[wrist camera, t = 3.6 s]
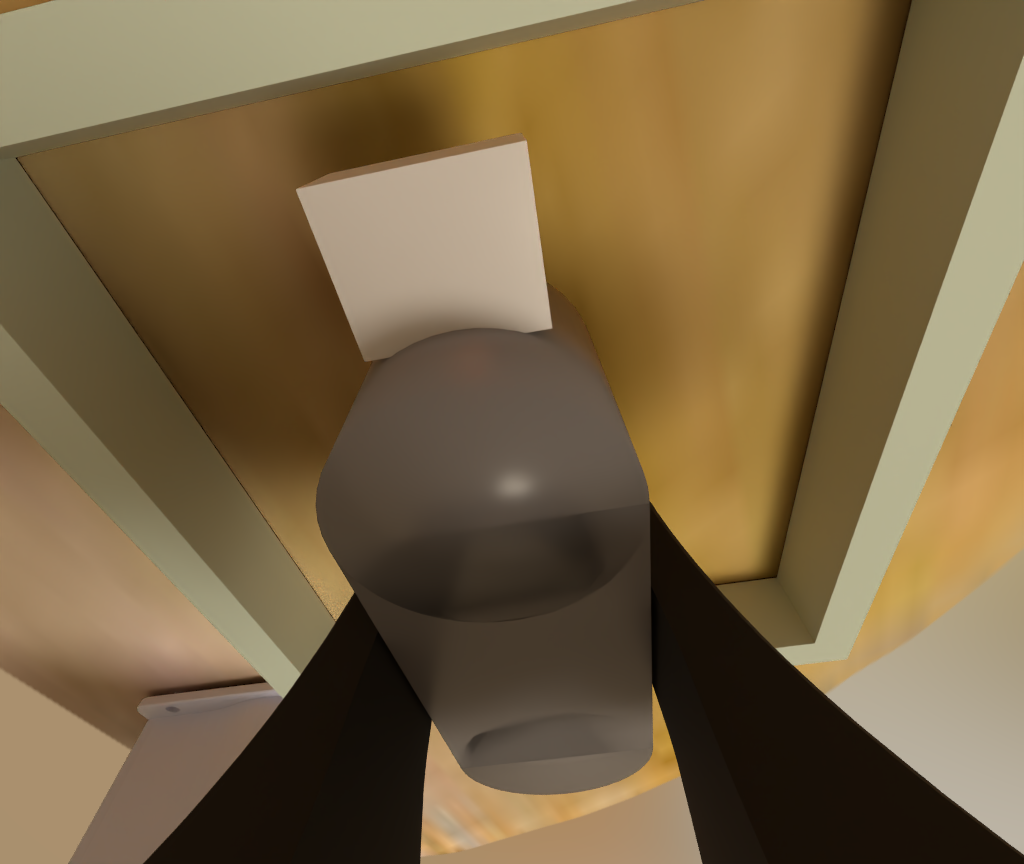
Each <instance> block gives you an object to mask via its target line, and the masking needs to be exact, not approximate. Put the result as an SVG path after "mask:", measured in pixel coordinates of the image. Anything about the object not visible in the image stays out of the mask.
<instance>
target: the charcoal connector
mask: <svg viewBox="0 0 1024 864" xmlns="http://www.w3.org/2000/svg"><path fill="white" fill-rule="evenodd" d="M296 192H297V194H298V197H299V199H300V202H301V204H302V207H303V209H304V212H305V214H306V217H307V219H308V222H309V224H310V227H311V229H312V231H313V234H314V236H315V239H316V241H317V244H318V246H319V249H320V251H321V254H322V256H323V259H324V261H325V264H326V266H327V269H328V271H329V274H330V276H331V279H332V281H333V284H334V286H335V289H336V291H337V294H338V296H339V299H340V301H341V304H342V306H343V309H344V311H345V314H346V316H347V319H348V321H349V324H350V326H351V329H352V331H353V334H354V336H355V339H356V341H357V344H358V346H359V349H360V351H361V354H362V356H363V359H364V361H365V362H367V361H373V362H372V364H371V366H370V368H369V370H368V373H367V375H366V377H365V379H364V381H363V383H362V386H361V388H360V390H359V392H358V394H357V396H356V399H355V401H354V403H353V405H352V407H351V410H350V412H349V414H348V416H347V418H346V420H345V423H344V425H343V427H342V429H341V431H340V433H339V436H338V438H337V440H336V442H335V444H334V446H333V449H332V451H331V453H330V455H329V457H328V459H327V462H326V464H325V466H324V468H323V470H322V472H321V476H320V480H319V483H318V487H317V495H316V511H317V520H318V524H319V527H320V530H321V534H322V537H323V539H324V541H325V543H326V545H327V547H328V549H329V551H330V552H331V554H332V555H333V557H334V559H335V560H336V562H337V564H338V565H339V567H340V569H341V570H342V572H343V574H344V575H345V577H346V579H347V580H348V582H349V584H350V585H351V587H352V589H353V590H354V592H355V593H356V595H357V597H358V598H359V600H360V602H361V603H362V605H363V607H364V608H365V610H366V612H367V613H368V615H369V617H370V618H371V620H372V622H373V623H374V625H375V627H376V628H377V630H378V631H379V633H380V635H381V636H382V638H383V640H384V641H385V643H386V645H387V646H388V648H389V650H390V651H391V653H392V655H393V656H394V658H395V660H396V661H397V663H398V665H399V666H400V668H401V669H402V671H403V673H404V674H405V676H406V678H407V679H408V681H409V683H410V684H411V686H412V688H413V689H414V691H415V693H416V694H417V696H418V698H419V699H420V701H421V703H422V704H423V706H424V707H425V709H426V711H427V712H428V714H429V716H430V717H431V719H432V721H433V722H434V724H435V726H436V727H437V729H438V731H439V732H440V734H441V736H442V737H443V739H444V741H445V742H446V744H447V745H448V747H449V749H450V750H451V752H452V754H453V755H454V757H455V759H456V760H457V762H458V764H459V765H460V767H461V769H462V770H463V771H464V772H465V774H467V775H468V776H469V777H470V778H472V779H473V780H475V781H476V782H479V783H481V784H483V785H485V786H488V787H491V788H494V789H498V790H502V791H507V792H513V793H521V794H535V795H550V794H566V793H574V792H581V791H587V790H591V789H596V788H600V787H603V786H607V785H610V784H612V783H615V782H618V781H620V780H622V779H625V778H627V777H629V776H630V775H632V774H634V773H635V772H637V771H638V770H640V769H641V768H642V767H643V766H644V765H645V764H646V763H647V762H648V761H649V759H650V757H651V755H652V751H653V718H652V641H651V565H650V501H649V492H648V486H647V482H646V479H645V476H644V473H643V470H642V467H641V465H640V462H639V460H638V457H637V454H636V452H635V449H634V447H633V444H632V442H631V439H630V437H629V434H628V432H627V429H626V427H625V424H624V421H623V419H622V416H621V414H620V411H619V409H618V406H617V404H616V401H615V399H614V396H613V393H612V391H611V388H610V386H609V383H608V381H607V378H606V376H605V373H604V371H603V368H602V366H601V363H600V360H599V358H598V355H597V353H596V350H595V348H594V345H593V343H592V340H591V338H590V335H589V332H588V330H587V328H586V326H585V324H584V322H583V320H582V318H581V316H580V315H579V313H578V312H577V310H576V309H575V307H574V306H573V305H572V304H571V303H570V301H569V300H568V299H567V298H566V297H565V296H564V295H563V294H562V293H560V292H559V291H558V290H557V289H555V288H554V287H553V286H551V285H550V284H548V283H547V282H546V278H545V271H544V264H543V256H542V249H541V242H540V235H539V227H538V220H537V213H536V205H535V198H534V191H533V184H532V176H531V169H530V162H529V154H528V147H527V140H526V139H525V137H524V136H523V135H522V133H517V134H512V135H508V136H503V137H498V138H494V139H489V140H484V141H480V142H475V143H470V144H465V145H461V146H456V147H451V148H447V149H442V150H437V151H433V152H428V153H423V154H418V155H414V156H409V157H404V158H400V159H395V160H390V161H386V162H381V163H376V164H372V165H367V166H362V167H357V168H353V169H348V170H343V171H339V172H334V173H329V174H327V175H325V176H323V177H321V178H318V179H316V180H314V181H312V182H310V183H308V184H306V185H304V186H301V187H299V188H297V189H296Z"/></svg>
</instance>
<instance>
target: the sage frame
mask: <svg viewBox="0 0 1024 864" xmlns="http://www.w3.org/2000/svg"><path fill="white" fill-rule="evenodd" d="M698 1H703V0H54V1H50V2H46V3H42V4H38V5H34V6H30V7H26V8H23V9H19V10H15V11H11V12H7V13H3V14H0V403H1V405H2V406H3V407H4V408H5V409H6V410H7V411H8V412H9V413H10V414H11V415H12V416H13V417H14V418H15V419H16V420H17V421H18V422H19V423H20V424H21V425H22V426H23V427H24V429H25V430H26V431H27V432H28V433H29V434H30V435H31V436H32V437H33V438H34V439H35V440H36V441H37V442H38V443H39V444H40V445H41V446H42V447H43V448H44V449H45V450H46V452H47V453H48V454H49V455H50V456H51V457H52V458H53V459H54V460H55V461H56V462H57V463H58V464H59V465H60V466H61V467H62V468H63V469H64V470H65V471H66V472H67V473H68V474H69V476H70V477H71V478H72V479H73V480H74V481H75V482H76V483H77V484H78V485H79V486H80V487H81V488H82V489H83V490H84V491H85V492H86V493H87V494H88V495H89V496H90V497H91V499H92V500H93V501H94V502H95V503H96V504H97V505H98V506H99V507H100V508H101V509H102V510H103V511H104V512H105V513H106V514H107V515H108V516H109V517H110V518H111V519H112V520H113V521H114V523H115V524H116V525H117V526H118V527H119V528H120V529H121V530H122V531H123V532H124V533H125V534H126V535H127V536H128V537H129V538H130V539H131V540H132V541H133V542H134V543H135V544H136V545H137V547H138V548H139V549H140V550H141V551H142V552H143V553H144V554H145V555H146V556H147V557H148V558H149V559H150V560H151V561H152V562H153V563H154V564H155V565H156V566H157V567H158V568H159V570H160V571H161V572H162V573H163V574H164V575H165V576H166V577H167V578H168V579H169V580H170V581H171V582H172V583H173V584H174V585H175V586H176V587H177V588H178V589H179V590H180V591H181V592H182V594H183V595H184V596H185V597H186V598H187V599H188V600H189V601H190V602H191V603H192V604H193V605H194V606H195V607H196V608H197V609H198V610H199V611H200V612H201V613H202V614H203V615H204V616H205V618H206V619H207V620H208V621H209V622H210V623H211V624H212V625H213V626H214V627H215V628H216V629H217V630H218V631H219V632H220V633H221V634H222V635H223V636H224V637H225V638H226V639H227V641H228V642H229V643H230V644H231V645H232V646H233V647H234V648H235V649H236V650H237V651H238V652H239V653H240V654H241V655H242V656H243V657H244V658H245V659H246V660H247V661H248V662H249V663H250V665H251V666H252V667H253V668H254V669H255V670H256V671H257V672H258V673H259V674H260V675H261V676H262V677H263V678H264V679H265V680H266V681H267V682H268V683H269V684H270V685H271V686H272V688H273V689H274V690H275V691H276V692H277V693H278V694H279V695H280V696H281V697H282V698H284V697H285V696H286V694H287V693H288V692H289V690H290V689H291V687H292V686H293V685H294V683H295V682H296V680H297V679H298V677H299V676H300V675H301V673H302V672H303V670H304V669H305V667H306V666H307V665H308V663H309V662H310V660H311V659H312V657H313V656H314V654H315V653H316V652H317V650H318V649H319V647H320V646H321V644H322V643H323V641H324V640H325V638H326V637H327V635H328V634H329V632H330V631H331V629H332V627H333V626H334V624H335V623H336V622H335V621H334V619H333V618H332V617H331V615H330V614H329V612H328V611H327V609H326V608H325V606H324V605H323V603H322V602H321V601H320V599H319V598H318V596H317V595H316V593H315V592H314V590H313V589H312V588H311V586H310V585H309V583H308V582H307V580H306V579H305V577H304V576H303V574H302V573H301V572H300V570H299V569H298V567H297V566H296V564H295V563H294V561H293V560H292V558H291V557H290V556H289V554H288V553H287V551H286V550H285V548H284V547H283V545H282V544H281V543H280V541H279V540H278V538H277V537H276V535H275V534H274V532H273V531H272V529H271V528H270V527H269V525H268V524H267V522H266V521H265V519H264V518H263V516H262V515H261V513H260V512H259V511H258V509H257V508H256V506H255V505H254V503H253V502H252V500H251V499H250V498H249V496H248V495H247V493H246V492H245V490H244V489H243V487H242V486H241V484H240V483H239V482H238V480H237V479H236V477H235V476H234V474H233V473H232V471H231V470H230V468H229V467H228V466H227V464H226V463H225V461H224V460H223V458H222V457H221V455H220V454H219V453H218V451H217V450H216V448H215V447H214V445H213V444H212V442H211V441H210V439H209V438H208V437H207V435H206V434H205V432H204V431H203V429H202V428H201V426H200V425H199V423H198V422H197V421H196V419H195V418H194V416H193V415H192V413H191V412H190V410H189V409H188V408H187V406H186V405H185V403H184V402H183V400H182V399H181V397H180V396H179V394H178V393H177V392H176V390H175V389H174V387H173V386H172V384H171V383H170V381H169V380H168V378H167V377H166V376H165V374H164V373H163V371H162V370H161V368H160V367H159V365H158V364H157V363H156V361H155V360H154V358H153V357H152V355H151V354H150V352H149V351H148V349H147V348H146V347H145V345H144V344H143V342H142V341H141V339H140V338H139V336H138V335H137V333H136V332H135V331H134V329H133V328H132V326H131V325H130V323H129V322H128V320H127V319H126V318H125V316H124V315H123V313H122V312H121V310H120V309H119V307H118V306H117V304H116V303H115V302H114V300H113V299H112V297H111V296H110V294H109V293H108V291H107V290H106V288H105V287H104V286H103V284H102V283H101V281H100V280H99V278H98V277H97V275H96V274H95V273H94V271H93V270H92V268H91V267H90V265H89V264H88V262H87V261H86V259H85V258H84V257H83V255H82V254H81V252H80V251H79V249H78V248H77V246H76V245H75V243H74V242H73V241H72V239H71V238H70V236H69V235H68V233H67V232H66V230H65V229H64V228H63V226H62V225H61V223H60V222H59V220H58V219H57V217H56V216H55V214H54V213H53V212H52V210H51V209H50V207H49V206H48V204H47V203H46V201H45V200H44V198H43V197H42V196H41V194H40V193H39V191H38V190H37V188H36V187H35V185H34V184H33V183H32V181H31V180H30V178H29V177H28V175H27V174H26V172H25V171H24V169H23V168H22V167H21V165H20V164H19V162H18V161H17V159H16V157H20V156H24V155H29V154H33V153H37V152H42V151H46V150H51V149H55V148H59V147H64V146H68V145H72V144H77V143H81V142H86V141H90V140H94V139H99V138H103V137H107V136H112V135H116V134H121V133H125V132H129V131H134V130H138V129H142V128H147V127H151V126H156V125H160V124H164V123H169V122H173V121H178V120H182V119H186V118H191V117H195V116H199V115H204V114H208V113H213V112H217V111H221V110H226V109H230V108H234V107H239V106H243V105H248V104H252V103H256V102H261V101H265V100H269V99H274V98H278V97H283V96H287V95H291V94H296V93H300V92H304V91H309V90H313V89H318V88H322V87H326V86H331V85H335V84H339V83H344V82H348V81H353V80H357V79H361V78H366V77H370V76H375V75H379V74H383V73H388V72H392V71H396V70H401V69H405V68H410V67H414V66H418V65H423V64H427V63H431V62H436V61H440V60H445V59H449V58H453V57H458V56H462V55H466V54H471V53H475V52H480V51H484V50H488V49H493V48H497V47H501V46H506V45H510V44H515V43H519V42H523V41H528V40H532V39H536V38H541V37H545V36H550V35H554V34H558V33H563V32H567V31H572V30H576V29H580V28H585V27H589V26H593V25H598V24H602V23H607V22H611V21H615V20H620V19H624V18H628V17H633V16H637V15H642V14H646V13H650V12H655V11H659V10H663V9H668V8H672V7H677V6H681V5H685V4H690V3H694V2H698ZM1023 261H1024V0H912V3H911V7H910V12H909V16H908V20H907V24H906V29H905V33H904V37H903V42H902V46H901V50H900V54H899V59H898V63H897V67H896V71H895V76H894V80H893V84H892V88H891V93H890V97H889V101H888V105H887V110H886V114H885V118H884V123H883V127H882V131H881V135H880V140H879V144H878V148H877V152H876V157H875V161H874V165H873V169H872V174H871V178H870V182H869V186H868V191H867V195H866V199H865V204H864V208H863V212H862V216H861V221H860V225H859V229H858V233H857V238H856V242H855V246H854V250H853V255H852V259H851V263H850V267H849V272H848V276H847V280H846V285H845V289H844V293H843V297H842V302H841V306H840V310H839V314H838V319H837V323H836V327H835V331H834V336H833V340H832V344H831V348H830V353H829V357H828V361H827V366H826V370H825V374H824V378H823V383H822V387H821V391H820V395H819V400H818V404H817V408H816V412H815V417H814V421H813V425H812V429H811V434H810V438H809V442H808V447H807V451H806V455H805V459H804V464H803V468H802V472H801V476H800V481H799V485H798V489H797V493H796V498H795V502H794V506H793V510H792V515H791V519H790V523H789V527H788V532H787V536H786V540H785V545H784V549H783V553H782V557H781V562H780V566H779V570H778V574H777V578H770V579H762V580H754V581H747V582H739V583H731V584H724V585H716V586H717V588H718V589H719V590H720V591H721V592H722V593H723V594H724V596H725V597H726V598H727V599H728V600H729V601H730V602H731V603H732V604H733V605H734V606H735V608H736V609H737V610H738V611H739V612H740V613H741V614H742V615H743V616H744V617H745V618H746V619H747V620H748V621H749V622H750V623H751V624H752V625H753V626H754V627H755V628H756V629H757V630H758V631H759V633H760V634H761V635H762V636H763V637H764V638H765V639H766V640H767V641H768V642H769V643H770V644H771V645H772V646H773V647H774V648H775V649H777V650H778V651H779V652H780V653H781V654H782V655H783V656H784V657H785V658H786V659H787V660H788V661H789V662H790V663H791V664H792V665H793V666H794V665H802V664H811V663H820V662H828V661H837V660H845V659H847V658H848V656H849V654H850V651H851V649H852V647H853V645H854V642H855V640H856V638H857V636H858V633H859V631H860V629H861V627H862V624H863V622H864V620H865V618H866V615H867V613H868V611H869V609H870V606H871V604H872V602H873V600H874V597H875V595H876V593H877V590H878V588H879V586H880V584H881V581H882V579H883V577H884V575H885V572H886V570H887V568H888V566H889V563H890V561H891V559H892V557H893V554H894V552H895V550H896V548H897V545H898V543H899V541H900V539H901V536H902V534H903V532H904V530H905V527H906V525H907V523H908V520H909V518H910V516H911V514H912V511H913V509H914V507H915V505H916V502H917V500H918V498H919V496H920V493H921V491H922V489H923V487H924V484H925V482H926V480H927V478H928V475H929V473H930V471H931V469H932V466H933V464H934V462H935V460H936V457H937V455H938V453H939V450H940V448H941V446H942V444H943V441H944V439H945V437H946V435H947V432H948V430H949V428H950V426H951V423H952V421H953V419H954V417H955V414H956V412H957V410H958V408H959V405H960V403H961V401H962V399H963V396H964V394H965V392H966V390H967V387H968V385H969V383H970V380H971V378H972V376H973V374H974V371H975V369H976V367H977V365H978V362H979V360H980V358H981V356H982V353H983V351H984V349H985V347H986V344H987V342H988V340H989V338H990V335H991V333H992V331H993V329H994V326H995V324H996V322H997V320H998V317H999V315H1000V313H1001V310H1002V308H1003V306H1004V304H1005V301H1006V299H1007V297H1008V295H1009V292H1010V290H1011V288H1012V286H1013V283H1014V281H1015V279H1016V277H1017V274H1018V272H1019V270H1020V268H1021V265H1022V263H1023Z"/></svg>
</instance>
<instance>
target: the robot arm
mask: <svg viewBox="0 0 1024 864" xmlns="http://www.w3.org/2000/svg"><path fill="white" fill-rule="evenodd" d="M650 565H651V641H652V684H653V687H654V690H655V693H656V696H657V699H658V702H659V705H660V708H661V711H662V714H663V717H664V720H665V723H666V726H667V729H668V732H669V735H670V738H671V742H672V745H673V749H674V752H675V755H676V759H677V762H678V766H679V770H680V774H681V778H682V782H683V786H684V790H685V794H686V798H687V802H688V806H689V810H690V814H691V818H692V822H693V826H694V830H695V835H696V839H697V843H698V847H699V851H700V855H701V859H702V863H703V864H1024V855H1023V854H1022V853H1021V852H1019V851H1018V850H1016V849H1015V848H1014V847H1012V846H1011V845H1009V844H1008V843H1007V842H1006V841H1005V840H1003V839H1002V838H1001V837H999V836H998V835H997V834H995V833H994V832H992V831H991V830H990V829H989V828H988V827H986V826H985V825H984V824H982V823H981V822H980V821H978V820H977V819H976V818H975V817H973V816H972V815H971V814H969V813H968V812H967V811H965V810H964V809H963V808H961V807H960V806H959V805H958V804H956V803H955V802H954V801H952V800H951V799H950V798H948V797H947V796H946V795H945V794H943V793H942V792H941V791H940V790H938V789H937V788H936V787H935V786H933V785H932V784H931V783H930V782H929V781H927V780H926V779H925V778H924V777H922V776H921V775H920V774H918V772H916V771H915V770H914V769H913V768H911V767H910V766H909V765H908V764H906V763H905V762H904V761H903V760H902V759H900V758H899V757H898V756H897V755H896V754H894V753H893V752H892V751H891V750H889V749H888V748H887V747H886V746H885V745H883V744H882V743H881V742H880V741H878V740H877V739H876V738H875V737H873V736H872V735H871V734H870V733H868V732H867V731H866V730H865V729H864V728H862V727H861V726H860V725H859V724H857V722H855V721H854V720H853V719H852V718H851V717H850V716H849V715H847V714H846V713H845V712H844V711H843V710H842V709H841V708H840V707H838V706H837V705H836V704H835V703H834V702H833V701H832V700H830V699H829V698H828V697H827V696H826V695H825V694H824V693H823V692H821V691H820V690H819V689H818V688H817V687H816V686H815V685H814V684H813V683H812V682H810V681H809V680H808V679H807V678H806V677H805V676H804V675H803V674H802V673H801V672H800V671H799V670H798V669H796V668H795V667H794V666H793V665H792V664H791V663H790V662H789V661H788V660H787V659H786V658H785V657H784V656H783V655H782V654H781V653H780V652H779V651H778V650H777V649H775V648H774V647H773V646H772V645H771V644H770V643H769V642H768V641H767V640H766V639H765V638H764V637H763V636H762V635H761V634H760V633H759V631H758V630H757V629H756V628H755V627H754V626H753V625H752V624H751V623H750V622H749V621H748V620H747V619H746V618H745V617H744V616H743V615H742V614H741V613H740V612H739V611H738V610H737V609H736V608H735V606H734V605H733V604H732V603H731V602H730V601H729V600H728V599H727V598H726V597H725V596H724V594H723V593H722V592H721V591H720V590H719V589H718V588H717V586H716V585H715V584H714V583H713V582H712V581H711V580H710V578H709V577H708V576H707V575H706V574H705V573H704V572H703V570H702V569H701V568H700V567H699V566H698V565H697V563H696V562H695V561H694V560H693V559H692V557H691V556H690V555H689V554H688V552H687V551H686V550H685V549H684V547H683V546H682V545H681V544H680V542H679V541H678V540H677V539H676V537H675V536H674V535H673V533H672V532H671V531H670V529H669V528H668V527H667V525H666V524H665V522H664V521H663V520H662V518H661V517H660V515H659V514H658V513H657V511H656V510H655V508H654V507H653V505H652V503H651V502H650ZM137 711H138V712H139V713H140V714H141V715H142V716H144V717H145V718H147V719H148V721H147V723H146V725H145V726H144V728H143V730H142V732H141V734H140V735H139V737H138V739H137V741H136V743H135V744H134V746H133V748H132V750H131V752H130V753H129V755H128V757H127V759H126V761H125V762H124V764H123V766H122V768H121V770H120V772H119V773H118V775H117V777H116V779H115V781H114V782H113V784H112V786H111V788H110V789H109V791H108V793H107V795H106V797H105V799H104V800H103V802H102V804H101V806H100V808H99V809H98V811H97V813H96V815H95V816H94V818H93V820H92V822H91V824H90V825H89V827H88V829H87V831H86V833H85V834H84V836H83V838H82V840H81V842H80V844H79V845H78V847H77V849H76V851H75V853H74V855H73V856H72V858H71V860H70V861H69V863H68V864H420V853H421V831H422V811H423V791H424V779H425V769H426V759H427V751H428V744H429V737H430V729H431V722H432V719H431V717H430V716H429V714H428V712H427V711H426V709H425V707H424V706H423V704H422V703H421V701H420V699H419V698H418V696H417V694H416V693H415V691H414V689H413V688H412V686H411V684H410V683H409V681H408V679H407V678H406V676H405V674H404V673H403V671H402V669H401V668H400V666H399V665H398V663H397V661H396V660H395V658H394V656H393V655H392V653H391V651H390V650H389V648H388V646H387V645H386V643H385V641H384V640H383V638H382V636H381V635H380V633H379V631H378V630H377V628H376V627H375V625H374V623H373V622H372V620H371V618H370V617H369V615H368V613H367V612H366V610H365V608H364V607H363V605H362V603H361V602H360V600H359V598H358V597H357V595H356V593H355V592H354V594H353V596H352V597H351V599H350V601H349V602H348V604H347V605H346V607H345V609H344V610H343V612H342V613H341V615H340V616H339V618H338V620H337V621H336V623H335V624H334V626H333V627H332V629H331V631H330V632H329V634H328V635H327V637H326V638H325V640H324V641H323V643H322V644H321V646H320V647H319V649H318V650H317V652H316V653H315V654H314V656H313V657H312V659H311V660H310V662H309V663H308V665H307V666H306V667H305V669H304V670H303V672H302V673H301V675H300V676H299V677H298V679H297V680H296V682H295V683H294V685H293V686H292V687H291V689H290V690H289V692H288V693H287V694H286V696H285V697H284V698H282V697H281V696H280V695H279V694H278V693H277V692H276V691H275V690H274V689H273V688H272V686H271V685H270V684H269V683H268V682H265V683H257V684H249V685H241V686H233V687H225V688H217V689H209V690H200V691H192V692H184V693H176V694H168V695H160V696H152V697H146V698H144V699H142V700H141V702H140V704H139V706H138V707H137Z"/></svg>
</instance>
